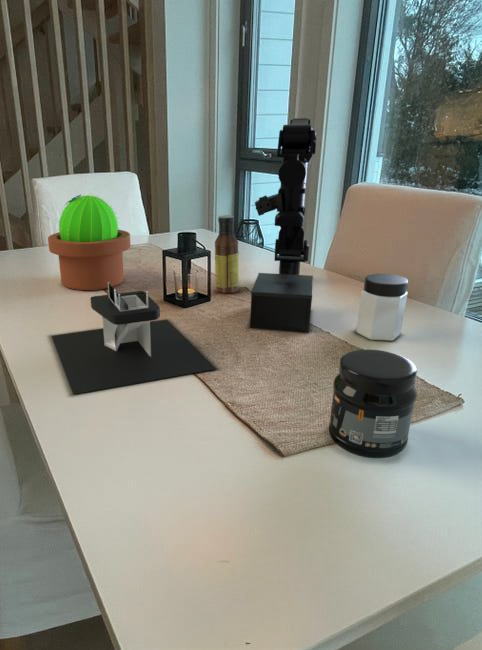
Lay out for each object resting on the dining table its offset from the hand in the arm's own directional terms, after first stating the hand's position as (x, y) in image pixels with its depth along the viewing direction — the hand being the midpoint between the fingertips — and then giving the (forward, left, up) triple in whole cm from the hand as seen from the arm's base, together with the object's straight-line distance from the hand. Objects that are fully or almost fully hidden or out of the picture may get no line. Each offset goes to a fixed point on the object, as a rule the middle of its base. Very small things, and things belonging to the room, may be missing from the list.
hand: (288, 250), depth 124 cm
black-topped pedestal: (+46, -15, -13) cm, 50 cm away
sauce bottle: (0, -17, -13) cm, 21 cm away
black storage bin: (+13, +4, -13) cm, 19 cm away
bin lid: (+13, +4, -5) cm, 15 cm away
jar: (+11, +25, -13) cm, 31 cm away
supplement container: (+53, +33, -13) cm, 64 cm away
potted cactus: (+12, -54, -13) cm, 57 cm away
